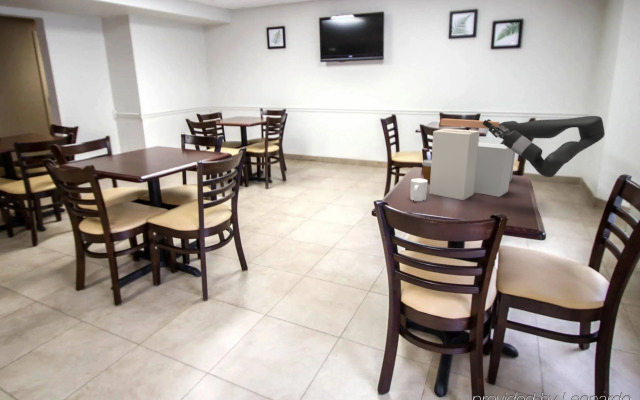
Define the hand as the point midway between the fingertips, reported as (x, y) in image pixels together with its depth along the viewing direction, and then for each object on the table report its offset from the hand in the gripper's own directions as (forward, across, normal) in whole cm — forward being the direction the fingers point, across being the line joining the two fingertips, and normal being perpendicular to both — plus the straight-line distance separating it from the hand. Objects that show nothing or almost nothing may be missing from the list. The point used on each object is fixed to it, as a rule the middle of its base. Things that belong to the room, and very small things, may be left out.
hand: (485, 121), depth 176 cm
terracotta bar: (+5, 0, +6) cm, 8 cm away
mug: (+1, +18, +44) cm, 47 cm away
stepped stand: (-12, -8, +36) cm, 39 cm away
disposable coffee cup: (+10, -15, +49) cm, 53 cm away
